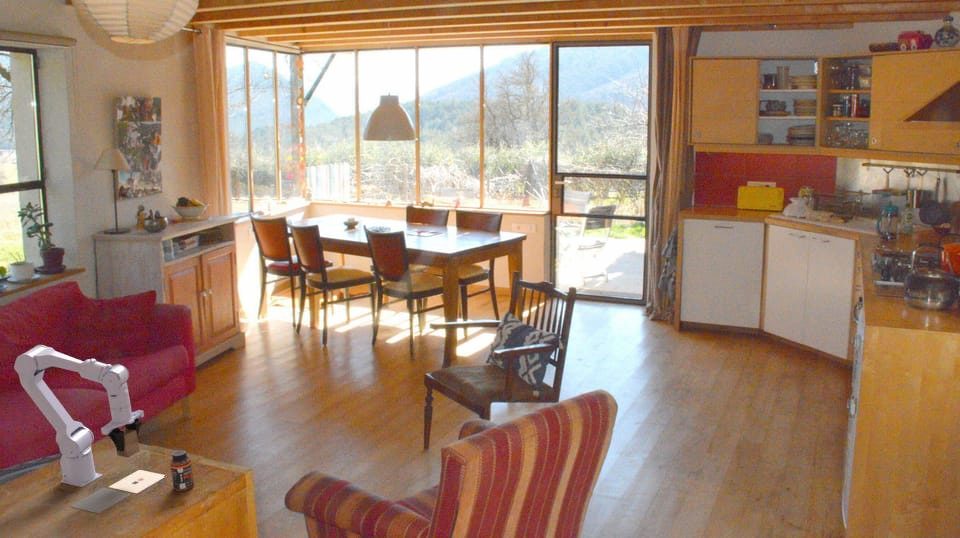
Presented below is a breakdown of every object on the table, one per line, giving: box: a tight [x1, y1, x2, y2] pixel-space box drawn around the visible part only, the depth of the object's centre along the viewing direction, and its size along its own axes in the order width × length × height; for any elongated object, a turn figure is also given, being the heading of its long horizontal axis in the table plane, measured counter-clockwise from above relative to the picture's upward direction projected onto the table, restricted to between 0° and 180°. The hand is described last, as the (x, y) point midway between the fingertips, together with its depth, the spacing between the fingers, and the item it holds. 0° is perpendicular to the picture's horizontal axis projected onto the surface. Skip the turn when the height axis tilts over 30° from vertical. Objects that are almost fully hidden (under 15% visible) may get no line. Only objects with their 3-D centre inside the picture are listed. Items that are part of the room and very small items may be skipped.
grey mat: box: [69, 487, 132, 515], centre depth 259 cm, size 12×12×1 cm
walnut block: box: [115, 427, 140, 458], centre depth 270 cm, size 4×4×7 cm
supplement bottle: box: [169, 449, 195, 492], centre depth 263 cm, size 6×6×11 cm
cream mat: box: [108, 469, 166, 494], centre depth 270 cm, size 12×12×1 cm
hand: (127, 447), depth 270 cm, fingers closed on walnut block, 4 cm apart
